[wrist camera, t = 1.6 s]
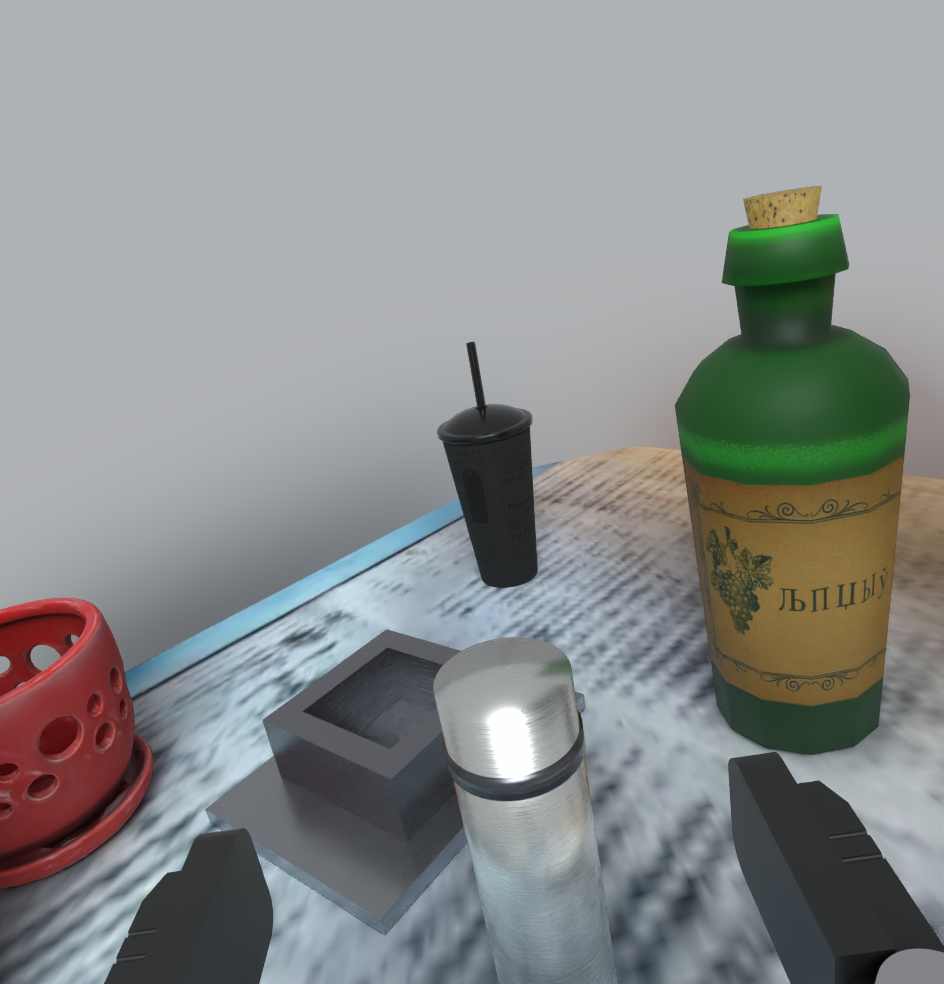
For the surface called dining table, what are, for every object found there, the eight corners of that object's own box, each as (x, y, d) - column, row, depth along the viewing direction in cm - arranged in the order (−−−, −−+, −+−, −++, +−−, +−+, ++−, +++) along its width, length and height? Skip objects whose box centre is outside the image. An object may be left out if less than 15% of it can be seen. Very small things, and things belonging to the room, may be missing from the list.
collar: (419, 656, 56) (405, 596, 54) (585, 707, 47) (575, 638, 46) (210, 823, 44) (183, 752, 42) (384, 935, 35) (360, 851, 33)
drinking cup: (566, 581, 63) (532, 339, 56) (477, 605, 62) (430, 360, 55) (539, 546, 70) (505, 327, 63) (458, 567, 69) (414, 346, 62)
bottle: (707, 776, 40) (663, 220, 31) (693, 659, 50) (656, 208, 40) (932, 776, 38) (962, 170, 28) (871, 653, 48) (878, 170, 38)
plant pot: (42, 750, 53) (-26, 598, 49) (207, 751, 50) (149, 589, 46) (-131, 914, 41) (-240, 734, 37) (71, 931, 38) (-25, 735, 34)
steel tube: (548, 946, 33) (487, 624, 27) (646, 1001, 30) (601, 654, 24) (483, 1040, 30) (400, 697, 24) (587, 1111, 27) (520, 741, 21)
